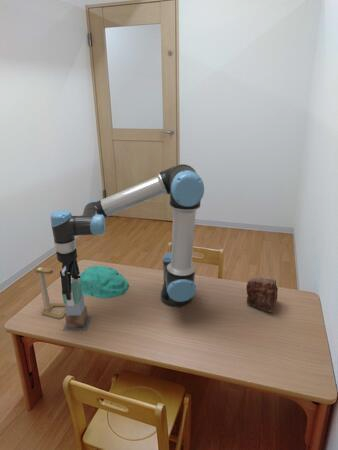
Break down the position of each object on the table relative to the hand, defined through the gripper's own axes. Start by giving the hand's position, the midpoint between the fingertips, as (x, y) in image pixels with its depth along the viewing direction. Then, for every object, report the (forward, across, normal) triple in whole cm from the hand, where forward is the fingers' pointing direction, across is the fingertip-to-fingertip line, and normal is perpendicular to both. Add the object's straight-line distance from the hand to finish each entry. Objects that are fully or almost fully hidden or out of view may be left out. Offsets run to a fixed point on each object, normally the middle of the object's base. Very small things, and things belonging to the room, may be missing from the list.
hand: (74, 298), depth 138 cm
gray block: (+6, 0, 0) cm, 6 cm away
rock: (+13, -11, +80) cm, 82 cm away
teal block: (0, 0, 0) cm, 0 cm away
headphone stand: (+13, -8, -12) cm, 19 cm away
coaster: (+13, 0, 0) cm, 13 cm away
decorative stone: (+13, -28, +5) cm, 31 cm away
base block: (+12, 0, 0) cm, 12 cm away
